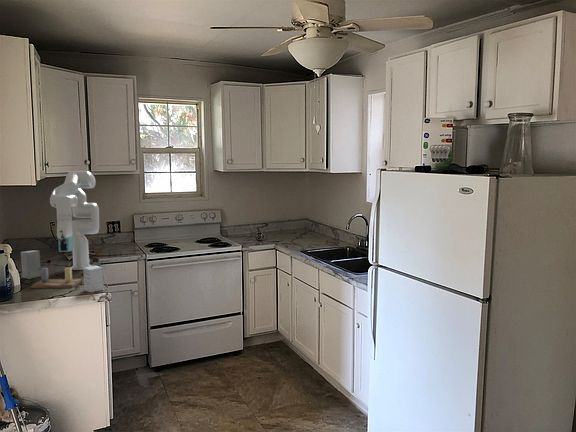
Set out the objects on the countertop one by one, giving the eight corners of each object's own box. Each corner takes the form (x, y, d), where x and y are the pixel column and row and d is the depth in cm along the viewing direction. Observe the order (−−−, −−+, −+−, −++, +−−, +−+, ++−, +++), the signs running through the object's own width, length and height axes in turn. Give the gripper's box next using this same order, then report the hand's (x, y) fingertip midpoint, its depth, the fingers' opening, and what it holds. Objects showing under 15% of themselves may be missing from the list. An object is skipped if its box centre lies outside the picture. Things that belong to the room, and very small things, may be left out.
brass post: (67, 281, 268) (66, 267, 267) (72, 281, 268) (71, 267, 267) (65, 282, 265) (64, 268, 264) (70, 282, 265) (69, 268, 264)
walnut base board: (43, 281, 273) (42, 279, 273) (81, 281, 274) (81, 278, 274) (31, 288, 259) (31, 285, 259) (72, 287, 260) (72, 285, 260)
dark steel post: (43, 281, 267) (43, 267, 266) (48, 281, 267) (48, 267, 266) (41, 282, 265) (40, 268, 264) (46, 282, 265) (45, 268, 264)
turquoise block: (63, 250, 268) (62, 236, 267) (73, 249, 268) (72, 236, 268) (58, 251, 263) (58, 238, 262) (69, 251, 263) (68, 238, 262)
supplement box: (97, 287, 261) (95, 265, 260) (103, 289, 256) (102, 267, 255) (84, 290, 256) (82, 267, 254) (90, 292, 251) (89, 269, 249)
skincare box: (29, 279, 278) (27, 252, 276) (21, 277, 281) (19, 251, 279) (42, 276, 285) (40, 250, 283) (34, 274, 288) (32, 249, 287)
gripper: (64, 216, 272) (65, 247, 274) (50, 219, 255) (52, 252, 257) (77, 215, 272) (79, 246, 274) (64, 219, 255) (66, 252, 257)
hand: (66, 249), depth 265 cm, fingers closed on turquoise block, 5 cm apart
